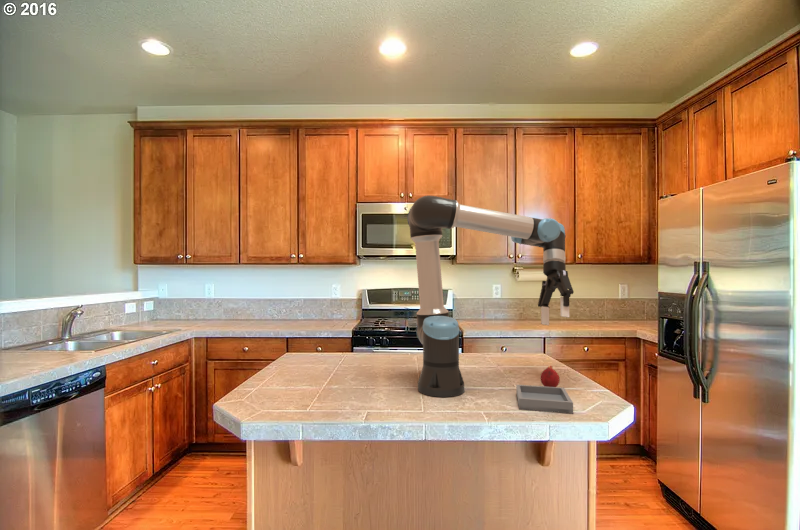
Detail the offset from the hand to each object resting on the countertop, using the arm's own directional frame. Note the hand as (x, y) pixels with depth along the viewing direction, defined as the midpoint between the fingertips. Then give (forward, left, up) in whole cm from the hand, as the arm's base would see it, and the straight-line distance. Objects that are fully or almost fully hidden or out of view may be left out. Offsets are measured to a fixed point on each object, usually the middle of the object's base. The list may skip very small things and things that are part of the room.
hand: (554, 320), depth 131 cm
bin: (-17, -14, -22) cm, 31 cm away
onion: (-6, -5, -22) cm, 23 cm away
